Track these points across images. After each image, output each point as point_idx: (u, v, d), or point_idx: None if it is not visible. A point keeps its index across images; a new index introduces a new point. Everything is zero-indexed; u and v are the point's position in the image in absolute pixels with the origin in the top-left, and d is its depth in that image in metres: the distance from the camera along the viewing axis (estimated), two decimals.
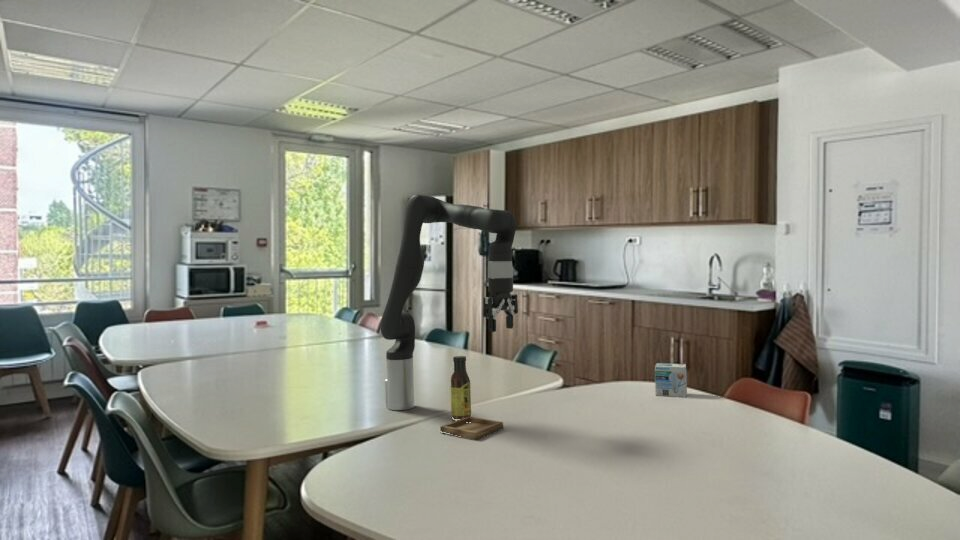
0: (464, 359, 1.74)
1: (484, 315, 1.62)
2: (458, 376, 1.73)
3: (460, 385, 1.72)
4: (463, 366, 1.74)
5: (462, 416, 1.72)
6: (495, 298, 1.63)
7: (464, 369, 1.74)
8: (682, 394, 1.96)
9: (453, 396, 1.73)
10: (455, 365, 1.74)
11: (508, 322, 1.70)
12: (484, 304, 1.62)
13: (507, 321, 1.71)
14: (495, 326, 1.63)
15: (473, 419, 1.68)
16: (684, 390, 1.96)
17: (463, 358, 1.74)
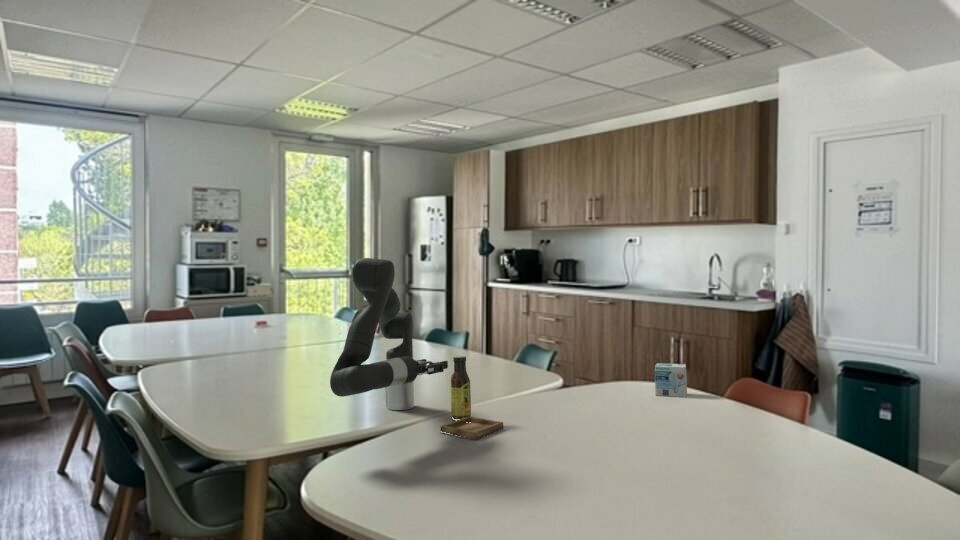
0: (464, 359, 1.74)
1: None
2: (458, 376, 1.73)
3: (460, 385, 1.72)
4: (463, 366, 1.74)
5: (462, 416, 1.72)
6: None
7: (464, 369, 1.74)
8: (682, 394, 1.96)
9: (453, 396, 1.73)
10: (455, 365, 1.74)
11: None
12: None
13: None
14: None
15: (473, 419, 1.68)
16: (684, 390, 1.96)
17: (463, 358, 1.74)
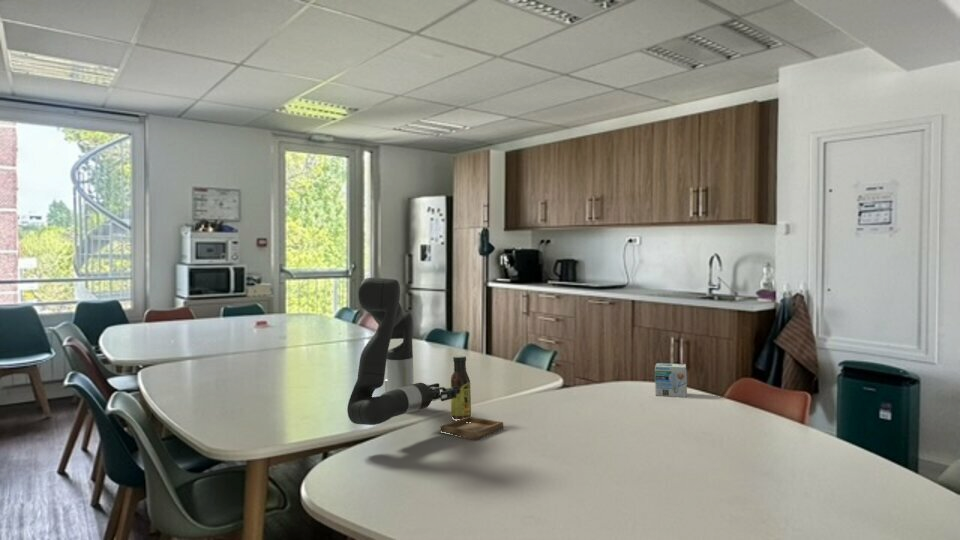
0: (464, 359, 1.74)
1: None
2: (458, 376, 1.73)
3: (460, 385, 1.72)
4: (463, 366, 1.74)
5: (462, 416, 1.72)
6: None
7: (464, 369, 1.74)
8: (682, 394, 1.96)
9: None
10: (455, 365, 1.74)
11: None
12: None
13: None
14: None
15: (473, 419, 1.68)
16: (684, 390, 1.96)
17: (463, 358, 1.74)
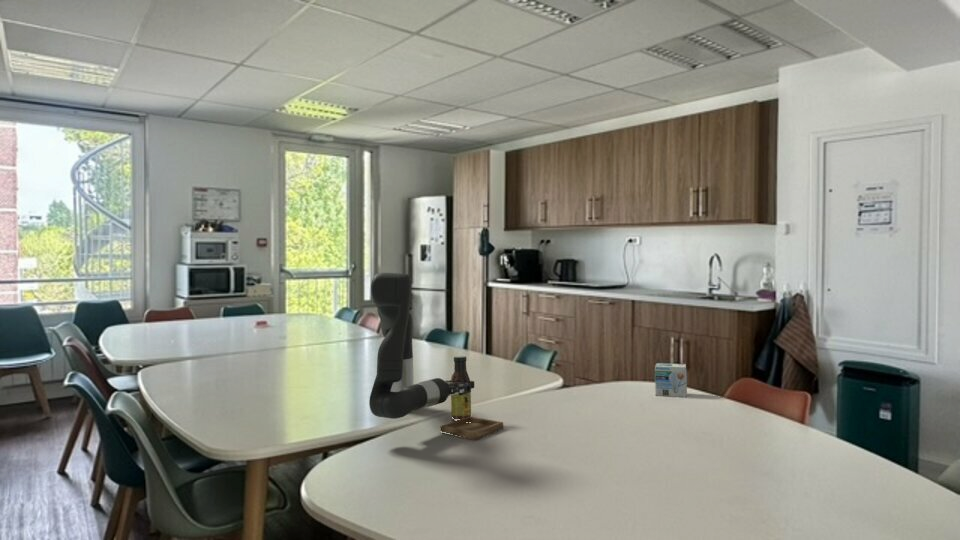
0: (464, 359, 1.74)
1: None
2: (458, 376, 1.73)
3: None
4: (463, 366, 1.74)
5: (462, 416, 1.72)
6: None
7: (464, 369, 1.74)
8: (682, 394, 1.96)
9: (453, 396, 1.73)
10: (455, 365, 1.74)
11: None
12: None
13: None
14: None
15: (473, 419, 1.68)
16: (684, 390, 1.96)
17: (463, 358, 1.74)
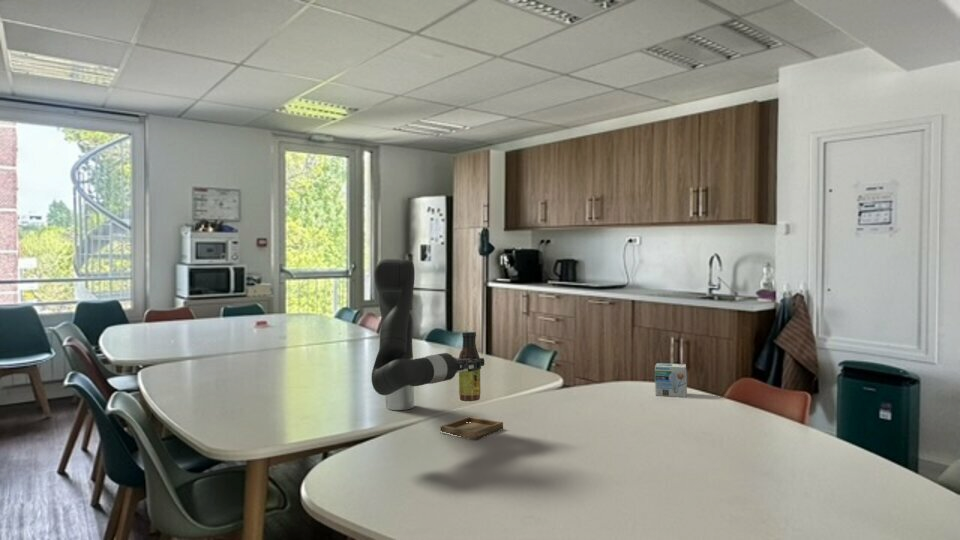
0: (474, 334, 1.62)
1: None
2: (467, 352, 1.60)
3: None
4: (472, 342, 1.61)
5: (471, 395, 1.59)
6: None
7: (474, 345, 1.61)
8: (682, 394, 1.96)
9: (461, 374, 1.60)
10: (464, 341, 1.62)
11: None
12: None
13: None
14: None
15: (473, 419, 1.68)
16: (684, 390, 1.96)
17: (473, 333, 1.61)
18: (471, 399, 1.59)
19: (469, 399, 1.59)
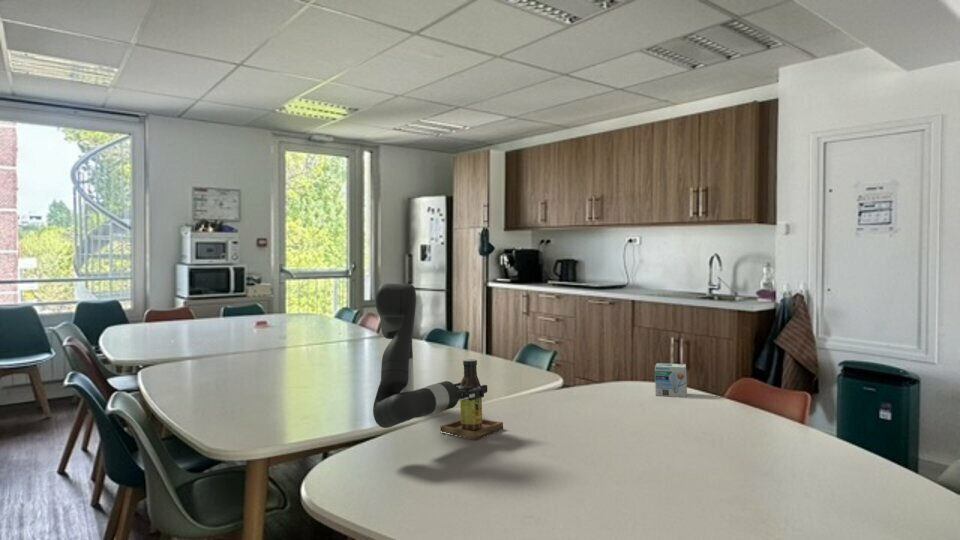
0: (475, 363, 1.61)
1: None
2: (468, 381, 1.59)
3: None
4: (473, 371, 1.60)
5: (473, 425, 1.58)
6: None
7: (475, 374, 1.61)
8: (682, 394, 1.96)
9: (462, 403, 1.59)
10: (465, 369, 1.61)
11: None
12: None
13: None
14: None
15: None
16: (684, 390, 1.96)
17: (474, 362, 1.60)
18: (473, 428, 1.58)
19: (471, 428, 1.58)
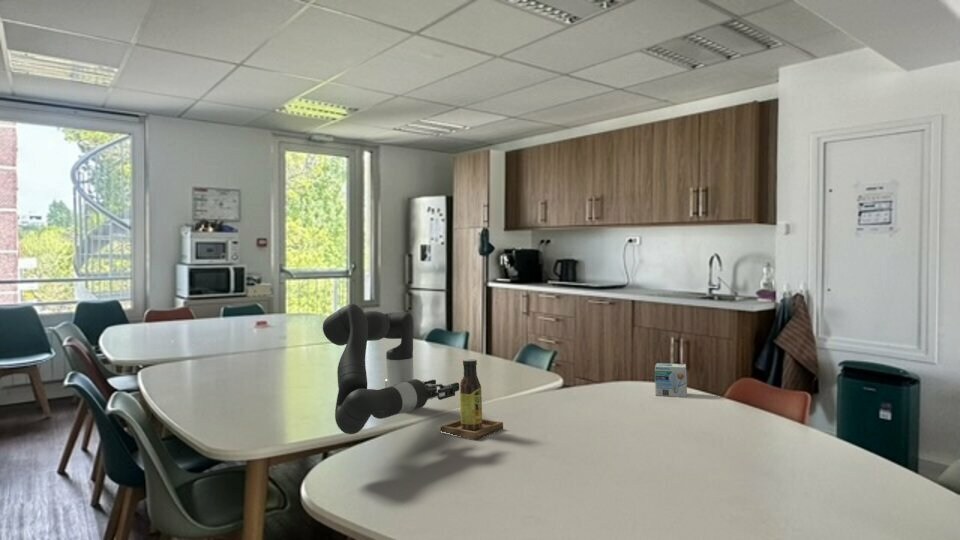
0: (475, 363, 1.61)
1: None
2: (468, 381, 1.59)
3: (470, 391, 1.59)
4: (473, 371, 1.60)
5: (473, 425, 1.58)
6: None
7: (475, 374, 1.61)
8: (682, 394, 1.96)
9: (462, 403, 1.59)
10: (465, 369, 1.61)
11: None
12: None
13: None
14: None
15: None
16: (684, 390, 1.96)
17: (474, 362, 1.60)
18: (473, 428, 1.58)
19: (471, 428, 1.58)
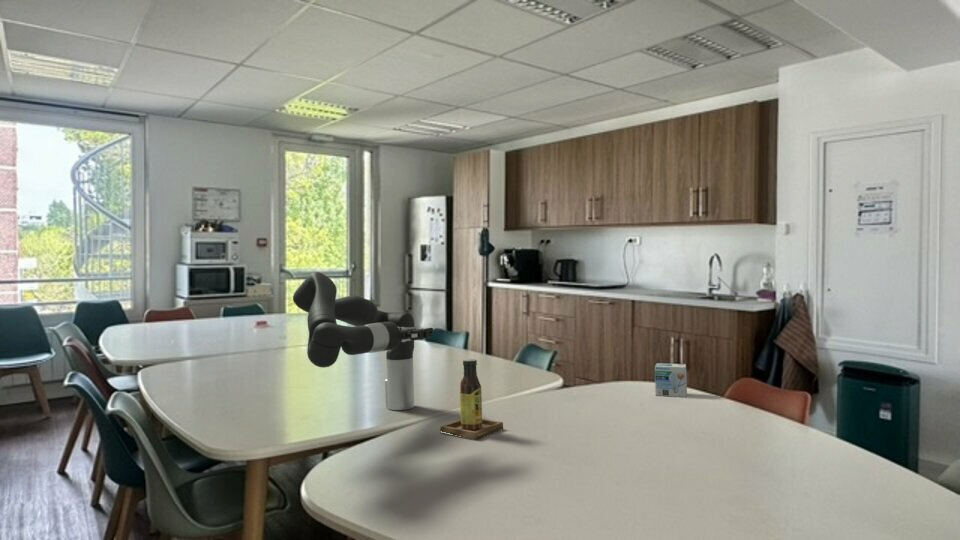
0: (475, 363, 1.61)
1: None
2: (468, 381, 1.59)
3: (470, 391, 1.59)
4: (473, 371, 1.60)
5: (473, 425, 1.58)
6: None
7: (475, 374, 1.61)
8: (682, 394, 1.96)
9: (462, 403, 1.59)
10: (465, 369, 1.61)
11: None
12: None
13: None
14: None
15: None
16: (684, 390, 1.96)
17: (474, 362, 1.60)
18: (473, 428, 1.58)
19: (471, 428, 1.58)
